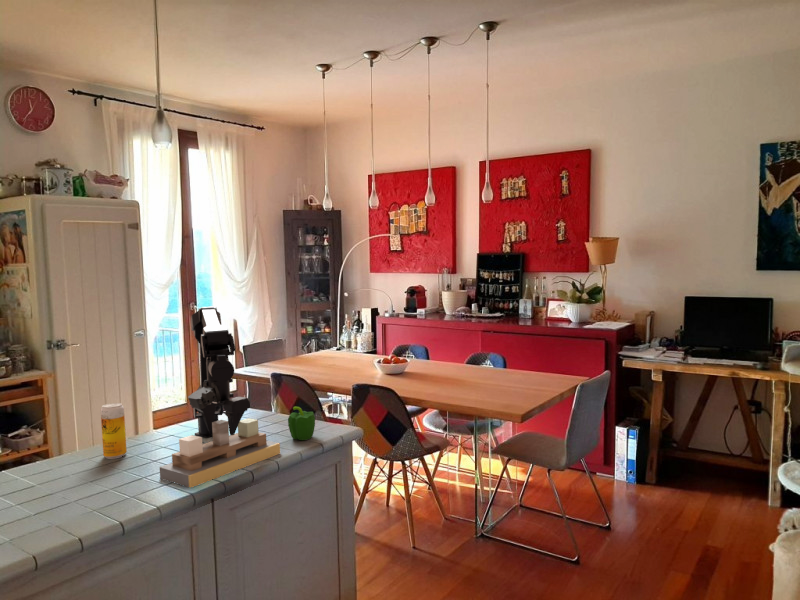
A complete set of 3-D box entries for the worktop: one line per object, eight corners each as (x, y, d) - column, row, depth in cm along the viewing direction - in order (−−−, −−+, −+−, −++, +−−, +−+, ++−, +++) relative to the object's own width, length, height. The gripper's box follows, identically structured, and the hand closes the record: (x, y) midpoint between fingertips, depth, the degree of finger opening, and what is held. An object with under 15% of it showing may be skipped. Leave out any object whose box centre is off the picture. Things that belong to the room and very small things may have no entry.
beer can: (98, 458, 173) (95, 406, 171) (115, 451, 178) (112, 401, 177) (114, 460, 170) (111, 408, 169) (131, 453, 176) (128, 403, 175)
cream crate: (179, 454, 155) (179, 439, 155) (193, 450, 158) (192, 435, 158) (189, 456, 153) (188, 441, 153) (202, 452, 156) (201, 437, 156)
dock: (160, 478, 155) (159, 467, 155) (250, 446, 179) (249, 436, 179) (190, 488, 148) (189, 476, 147) (280, 453, 172) (279, 443, 172)
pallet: (172, 465, 156) (170, 431, 155) (247, 439, 176) (246, 409, 175) (191, 471, 151) (189, 435, 150) (266, 444, 172) (265, 413, 171)
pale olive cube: (238, 435, 171) (237, 421, 170) (249, 431, 174) (248, 418, 174) (247, 437, 168) (247, 423, 168) (258, 433, 172) (258, 419, 171)
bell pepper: (321, 436, 188) (320, 404, 187) (305, 443, 181) (304, 411, 180) (300, 433, 192) (298, 402, 191) (283, 440, 185) (282, 408, 184)
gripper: (170, 377, 161) (174, 435, 162) (215, 384, 150) (219, 446, 151) (205, 370, 170) (208, 425, 171) (250, 376, 159) (253, 434, 160)
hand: (221, 432), depth 163 cm, fingers open, 9 cm apart
